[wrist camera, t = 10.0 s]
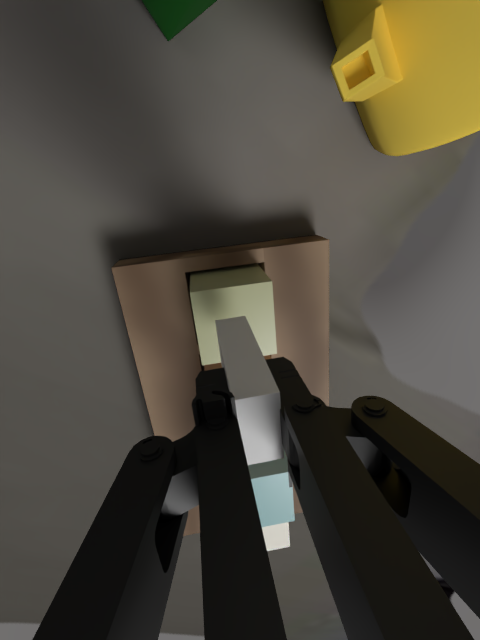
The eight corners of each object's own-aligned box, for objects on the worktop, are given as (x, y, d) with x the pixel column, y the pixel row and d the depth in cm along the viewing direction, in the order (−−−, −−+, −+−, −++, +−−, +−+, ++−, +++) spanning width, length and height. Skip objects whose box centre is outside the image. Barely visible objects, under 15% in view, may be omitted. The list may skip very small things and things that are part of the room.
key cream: (228, 503, 31) (234, 557, 27) (222, 467, 29) (227, 519, 25) (275, 494, 32) (289, 546, 27) (272, 458, 30) (287, 507, 25)
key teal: (222, 474, 27) (228, 533, 22) (215, 430, 25) (220, 484, 21) (277, 464, 27) (294, 520, 23) (273, 420, 26) (291, 471, 21)
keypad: (181, 511, 32) (180, 536, 30) (119, 259, 23) (111, 267, 20) (319, 485, 33) (328, 507, 31) (316, 234, 24) (329, 239, 22)
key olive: (200, 331, 24) (202, 365, 20) (190, 271, 23) (189, 292, 18) (261, 322, 25) (276, 353, 20) (256, 262, 23) (272, 281, 18)
